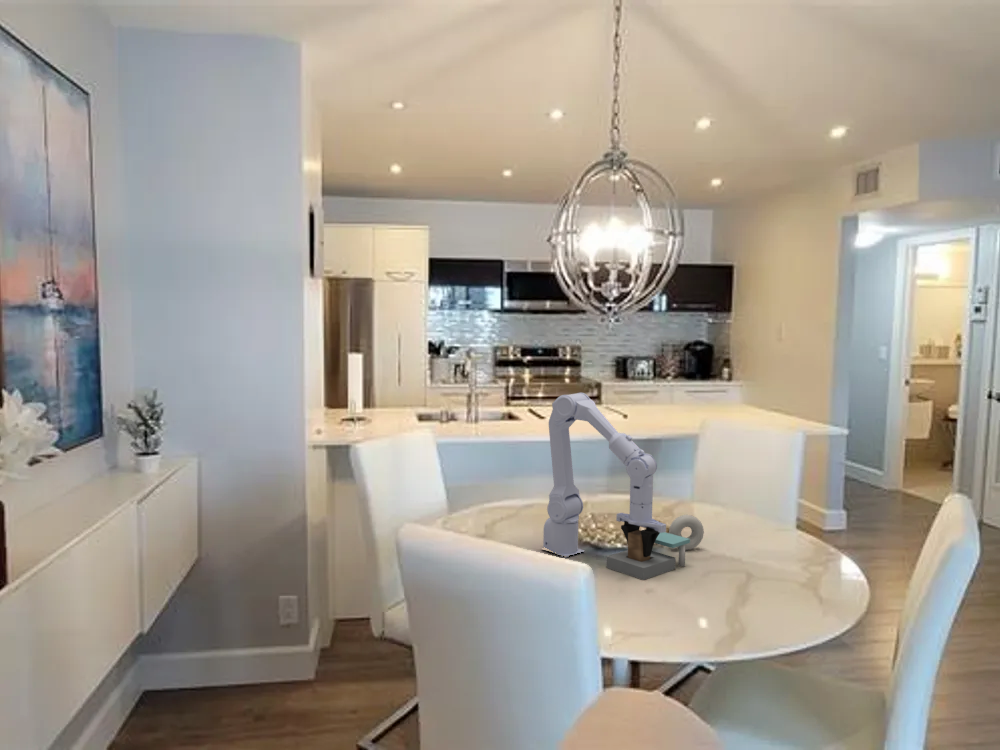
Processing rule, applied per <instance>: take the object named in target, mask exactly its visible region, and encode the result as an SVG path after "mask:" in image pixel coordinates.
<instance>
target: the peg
mask: <svg viewBox="0 0 1000 750" xmlns="http://www.w3.org/2000/svg"><path fill="white" fill-rule="evenodd" d="M640 531H641V529H639V530H636V531H632V532H629V533H628V544H627V550H628V558H631V559H634V560H637V561H640V562H643V561H646V560H649V559H650V556H648V557H644V556H643V540H642V535H641V532H640Z"/></svg>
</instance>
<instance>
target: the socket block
mask: <svg viewBox="0 0 1000 750" xmlns="http://www.w3.org/2000/svg"><path fill="white" fill-rule="evenodd" d="M606 567H607V568H606ZM606 567H605V568H606V569H609V570H612V571H616V572H618V573H622V574H625V575H627V576H631V577H633V578H637V579H639V580H642V581H645V580H648V579H651V578H653V577H656V576H659V575H662V574H666V573H668V572H670V571H674V570H676V557H674V556H672V555H668V554H665V553H662V552H658V551H655V550H652V552H651V556H650V559H649V560H646V561H643V562H640V561H637V560H634V559H631V558H628V549H627V550H626V549H625V550H624V551H619V552H617V553H613V554H610V555H606ZM673 569H674V570H673Z"/></svg>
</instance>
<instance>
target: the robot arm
mask: <svg viewBox="0 0 1000 750" xmlns="http://www.w3.org/2000/svg"><path fill="white" fill-rule="evenodd" d="M551 407H552V409H551V413H550V416H549V419H548V431H549V444H550V455H551V466H552V467H551V468H552V476H553V477H552V478H553V487H552V489H551V491H550V492H549V495H548V500H549V501H548V505H547V509H546V510H547V511H546V512H547V515H548V518H547V519H546V521H545V522H544V524H543V538H542V539H543V541H542V542H543V544H542V545H543V546H542V548H543V547H545V548H547V549H549V550H551V551H553V553H555V552H556V554H558V555H562V556H560V557H561V558H569V555H573V556H575V555H574V554H577V553H580V554H582V553H581V552H584V551H585V550H584V549H581V548H579V518H580V515H581V513H583V509H584V502H583V500H582V497H581V495H580V490H579V488H578V487H577V486H576V485H575V483H574V471H573V461H572V458H573V457H572V448H571V436H570V427H571V426H572V425H573V424H575V422H576V421H583V422H587V423H588V424H590V425H591V426H592V427H593V428H594V429H595V430H596V431H597V432H598V433H600V435H601V436H603V437H604V438H605V439H606V441H608V448H609V450H610V451H611V452H612V453H613V454H614V455H615V456H616V458H618V460H620V462H621V463H622V464H623V465H624V466H625V469H626V473H627V475H628V476H629V479H630V481H629V483H630V484H629V485H630V486H629V513H624V512H618V513H616V517H615V518H616V520H615V521H616V522H619V523H620V522H623V524H622V525H620V529H621V531H622V533H623V535H624V537H625V539H626V543H627V545H628V533H629V532H632V531H636V530H640V532H641V535H642V540H643V556H644V557H648V556H651V552H652V551H653V548H654V546H655V544H656V543H655V540H656V538H657V537H658V535H659V533H663V532H666V533H667V524H666V523H663V522H661V521H658V520H656V519H654V518H653V502H654V501H653V497H654V496H653V495H654V485H653V484H654V474H655V473H656V472H657V469H658V464H657V461H656V459H655V457H654V456H653V455H652V454H651V453H646V452H645V450H643V449H642V448H640V447H639V446H638V445H637V444H636V443H635V442H634V441H633V440H632V439H633V437H632V436H631V435H630V434H626V433H624V432H623V433H622V432H618V431H617V429H616V428H615V427H614V426H613V425H612V424H611V422H610V421H609V420H608V419H607V418H606V417H605V415H604V414H603V413H602V412H601V410H600V409H599V408H598V407H597V404H596V403H595V401H594V400H593V399H591V398H590V396H588V394H587V393H584V392H577V393H572V394H571V393H570V394H562V395H559V396H558V397H557V398H556V399H555V400H554V401H553V402H552V404H551ZM640 527H641V528H644V529H640ZM584 553H585V552H584ZM558 555H557V556H558ZM577 555H578V554H577ZM563 556H566V557H563Z"/></svg>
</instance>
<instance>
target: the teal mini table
mask: <svg viewBox="0 0 1000 750" xmlns="http://www.w3.org/2000/svg"><path fill="white" fill-rule="evenodd" d="M688 543H690V539H688V538H687V537H684V536H682V537H681V536H677V535H673V534H670V533H669V532H667V531H666V532H663V533H659V535H658V537H657V538H656V540H655V543H654V544H656V545H661V546H664V547H666V548H667V547H668V548H671V549H674V548H677V547H678V546H679V548H678V566H679V567H680V566H683V567H682V568H684V567H686V550H685V544H688Z"/></svg>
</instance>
